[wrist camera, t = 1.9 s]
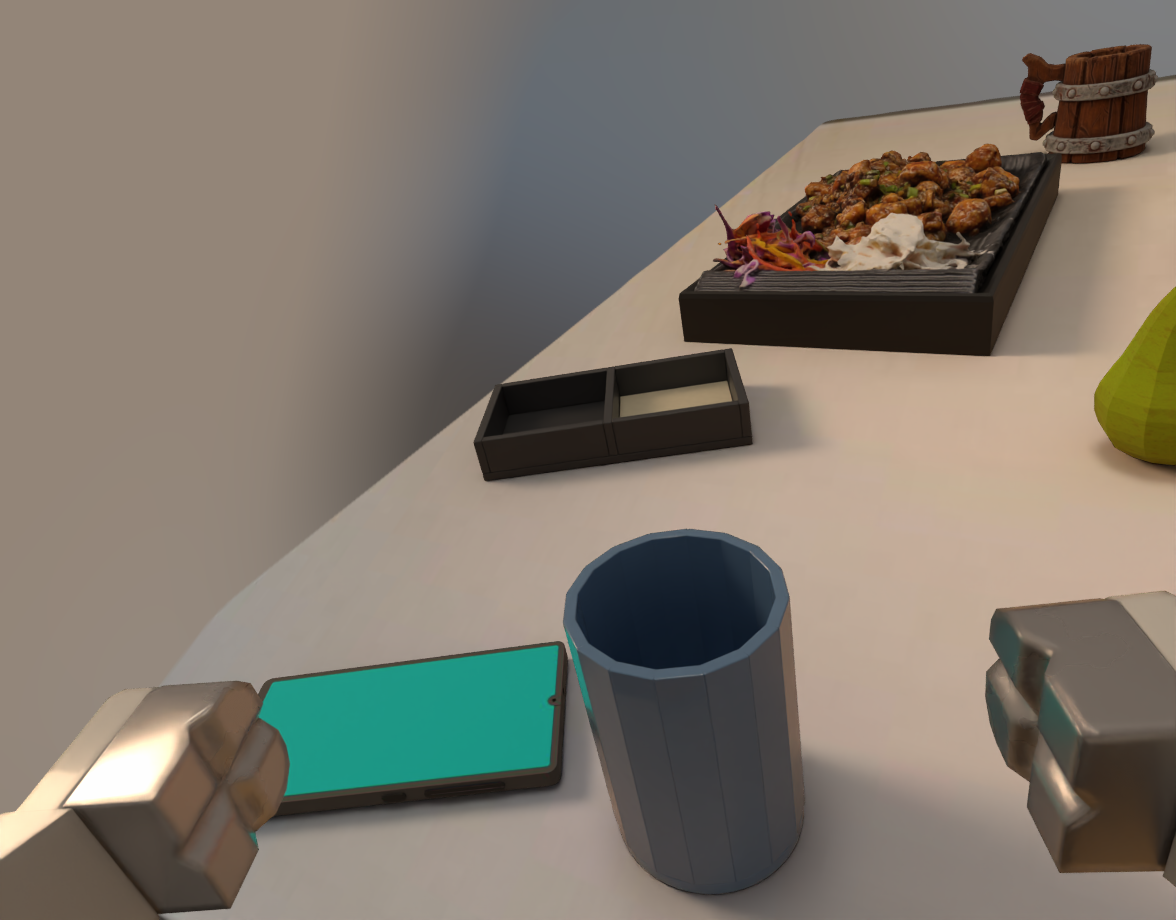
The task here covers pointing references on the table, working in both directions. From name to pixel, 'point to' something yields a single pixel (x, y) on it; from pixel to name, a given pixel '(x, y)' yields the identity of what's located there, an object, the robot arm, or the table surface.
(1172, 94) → the table surface
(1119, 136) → the mug
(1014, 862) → the table surface
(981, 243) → the food platter
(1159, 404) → the fruit
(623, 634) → the blue cup
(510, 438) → the tray
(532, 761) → the smartphone
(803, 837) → the table surface
